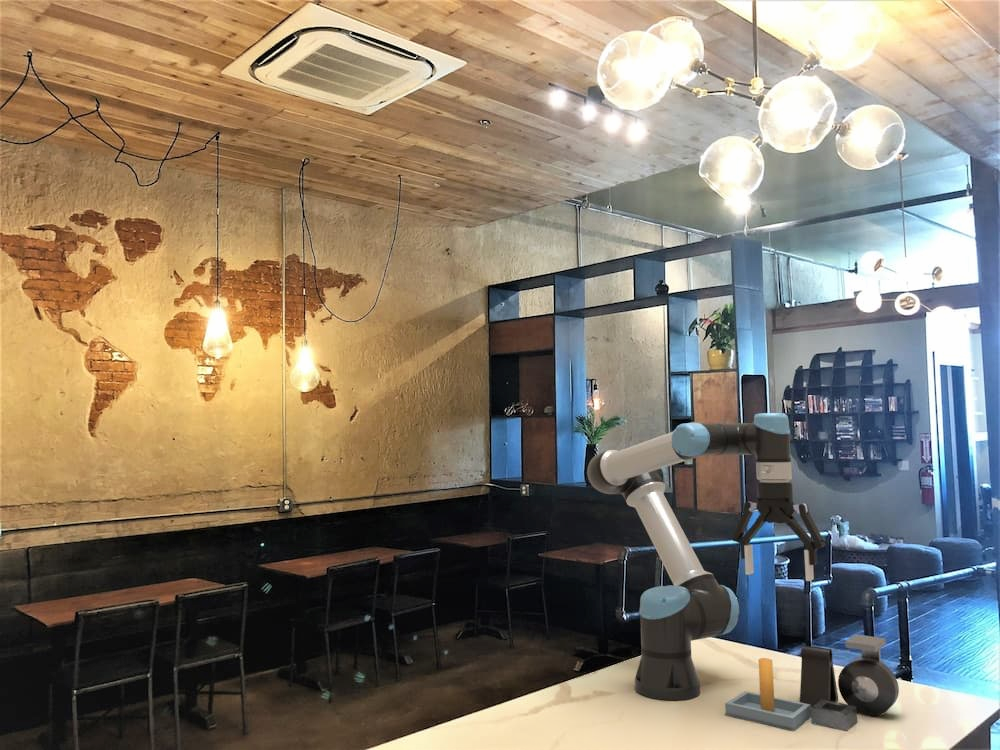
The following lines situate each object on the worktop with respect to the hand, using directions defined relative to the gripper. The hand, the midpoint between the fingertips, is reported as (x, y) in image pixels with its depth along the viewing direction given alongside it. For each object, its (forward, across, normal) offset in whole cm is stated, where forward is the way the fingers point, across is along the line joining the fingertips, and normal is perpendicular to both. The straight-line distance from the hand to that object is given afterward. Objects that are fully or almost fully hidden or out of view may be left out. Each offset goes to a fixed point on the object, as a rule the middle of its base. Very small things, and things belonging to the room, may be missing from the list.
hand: (778, 577), depth 169 cm
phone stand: (+28, +4, +8) cm, 30 cm away
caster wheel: (+28, +15, +8) cm, 33 cm away
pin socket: (+28, +11, -2) cm, 30 cm away
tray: (+28, -1, -8) cm, 29 cm away
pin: (+28, -1, -8) cm, 29 cm away
